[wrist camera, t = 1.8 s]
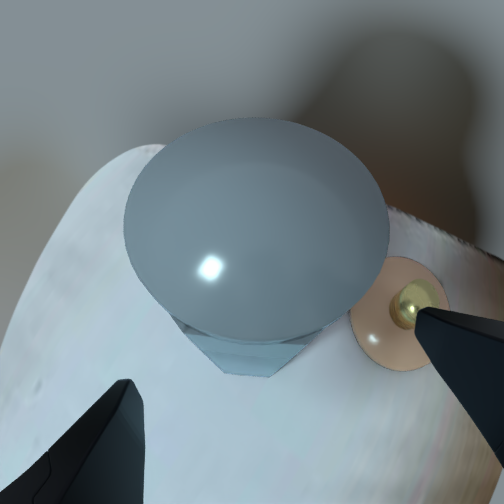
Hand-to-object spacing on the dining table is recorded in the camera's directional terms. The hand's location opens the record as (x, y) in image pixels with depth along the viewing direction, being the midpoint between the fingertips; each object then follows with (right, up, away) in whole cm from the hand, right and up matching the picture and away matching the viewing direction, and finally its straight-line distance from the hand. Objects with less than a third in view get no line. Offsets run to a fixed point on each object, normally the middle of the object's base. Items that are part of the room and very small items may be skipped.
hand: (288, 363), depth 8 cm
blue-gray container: (-1, -2, +11) cm, 12 cm away
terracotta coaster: (+10, -1, +12) cm, 16 cm away
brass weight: (+10, -1, +12) cm, 16 cm away
